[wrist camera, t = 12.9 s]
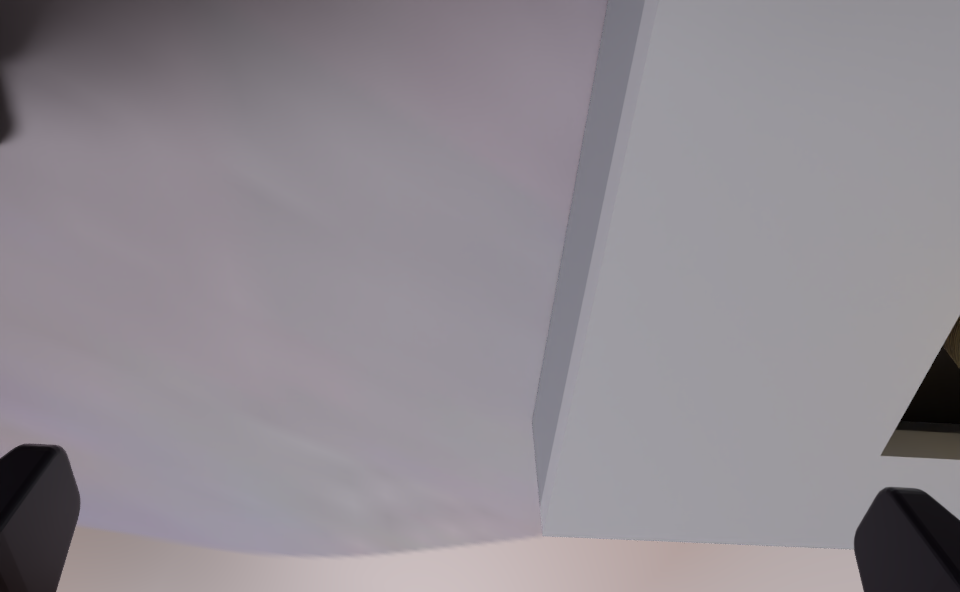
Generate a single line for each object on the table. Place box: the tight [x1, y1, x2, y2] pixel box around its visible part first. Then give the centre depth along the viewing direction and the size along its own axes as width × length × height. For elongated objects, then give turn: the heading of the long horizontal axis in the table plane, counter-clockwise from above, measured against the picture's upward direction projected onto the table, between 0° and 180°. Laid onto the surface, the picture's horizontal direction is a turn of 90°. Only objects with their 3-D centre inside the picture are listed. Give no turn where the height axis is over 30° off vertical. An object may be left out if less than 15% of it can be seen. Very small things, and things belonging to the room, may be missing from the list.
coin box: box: [532, 0, 960, 549], centre depth 21 cm, size 20×16×4 cm
